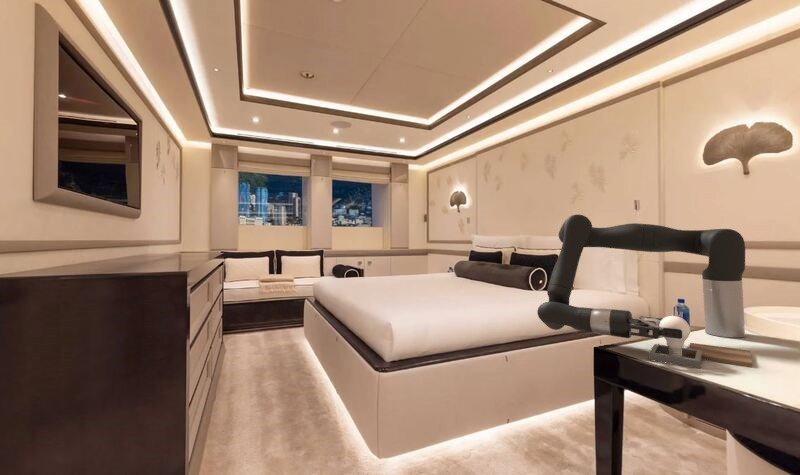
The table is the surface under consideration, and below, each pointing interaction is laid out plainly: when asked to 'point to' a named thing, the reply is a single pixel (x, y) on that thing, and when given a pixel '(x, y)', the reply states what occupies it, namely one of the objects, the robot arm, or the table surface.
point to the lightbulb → (675, 343)
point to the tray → (675, 359)
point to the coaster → (722, 354)
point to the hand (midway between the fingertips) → (683, 330)
